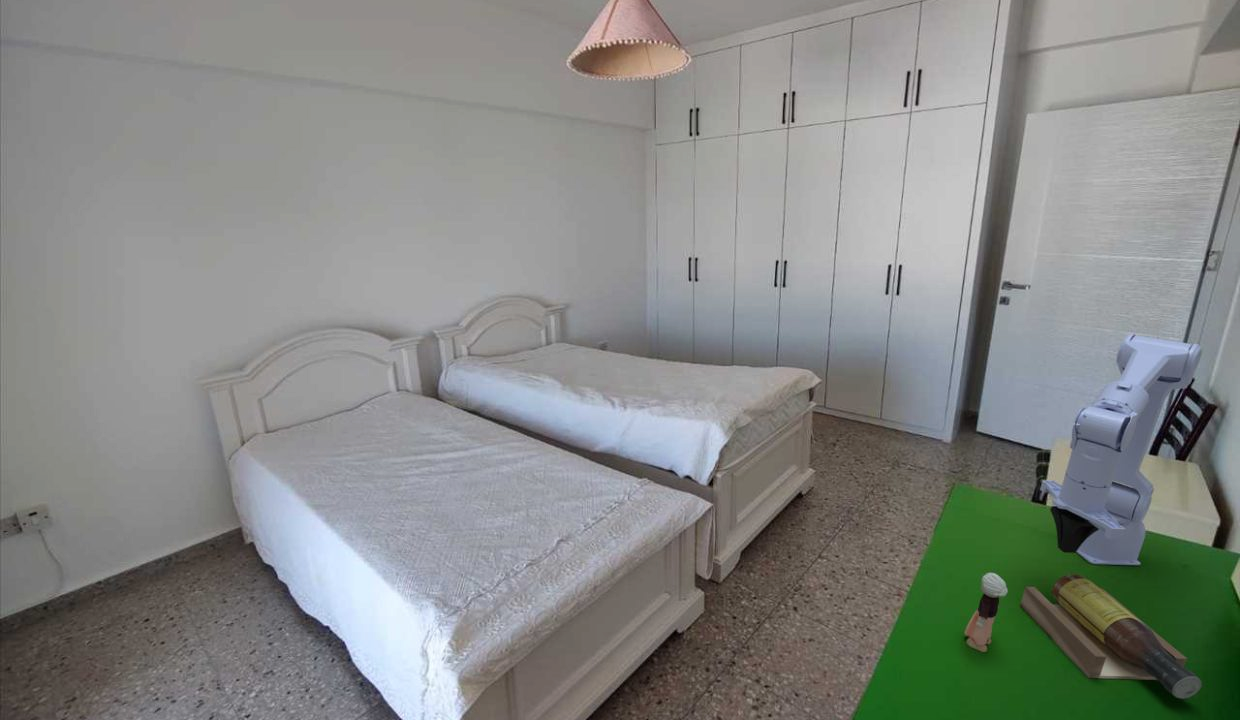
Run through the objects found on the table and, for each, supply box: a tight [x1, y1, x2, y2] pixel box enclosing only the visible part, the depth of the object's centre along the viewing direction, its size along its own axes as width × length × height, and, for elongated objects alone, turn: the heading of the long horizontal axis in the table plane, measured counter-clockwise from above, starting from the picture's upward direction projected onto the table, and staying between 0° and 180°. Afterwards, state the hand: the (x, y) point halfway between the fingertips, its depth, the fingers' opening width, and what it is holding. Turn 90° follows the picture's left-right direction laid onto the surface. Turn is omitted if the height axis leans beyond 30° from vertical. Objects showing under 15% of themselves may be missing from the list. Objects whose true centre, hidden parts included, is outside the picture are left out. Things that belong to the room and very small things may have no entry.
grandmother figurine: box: [964, 572, 1009, 653], centre depth 83 cm, size 8×4×13 cm, turn 141°
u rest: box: [1019, 586, 1188, 681], centre depth 85 cm, size 13×14×4 cm
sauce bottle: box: [1051, 573, 1202, 699], centre depth 82 cm, size 6×6×20 cm
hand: (1066, 550), depth 91 cm, fingers closed
